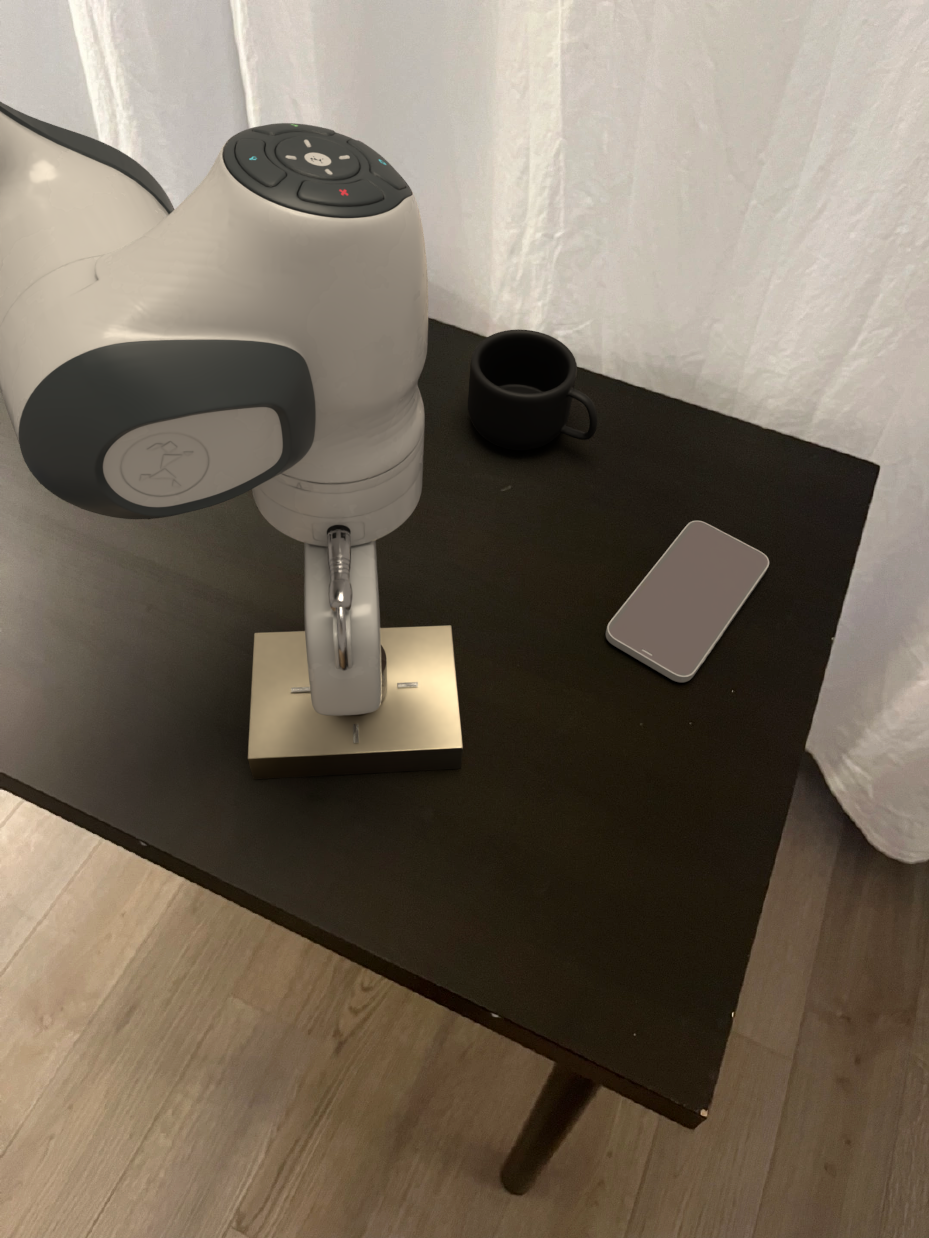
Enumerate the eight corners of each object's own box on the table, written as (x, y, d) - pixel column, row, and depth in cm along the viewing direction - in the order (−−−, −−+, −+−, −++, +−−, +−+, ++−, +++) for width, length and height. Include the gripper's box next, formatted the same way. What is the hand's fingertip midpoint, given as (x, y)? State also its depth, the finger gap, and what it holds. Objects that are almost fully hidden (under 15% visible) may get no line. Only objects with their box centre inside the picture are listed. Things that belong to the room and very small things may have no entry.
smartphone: (774, 558, 77) (688, 682, 69) (771, 566, 78) (685, 689, 70) (693, 516, 79) (601, 631, 71) (690, 523, 80) (599, 638, 72)
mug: (446, 432, 85) (450, 368, 79) (500, 379, 90) (506, 314, 84) (563, 490, 81) (576, 428, 76) (612, 431, 86) (628, 368, 80)
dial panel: (253, 779, 64) (247, 757, 62) (259, 656, 70) (253, 631, 67) (460, 768, 65) (463, 746, 63) (449, 648, 71) (451, 623, 69)
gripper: (411, 625, 43) (407, 765, 54) (388, 333, 55) (388, 498, 66) (269, 631, 42) (294, 772, 53) (276, 334, 54) (296, 501, 65)
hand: (346, 619), depth 60 cm, fingers open, 8 cm apart
